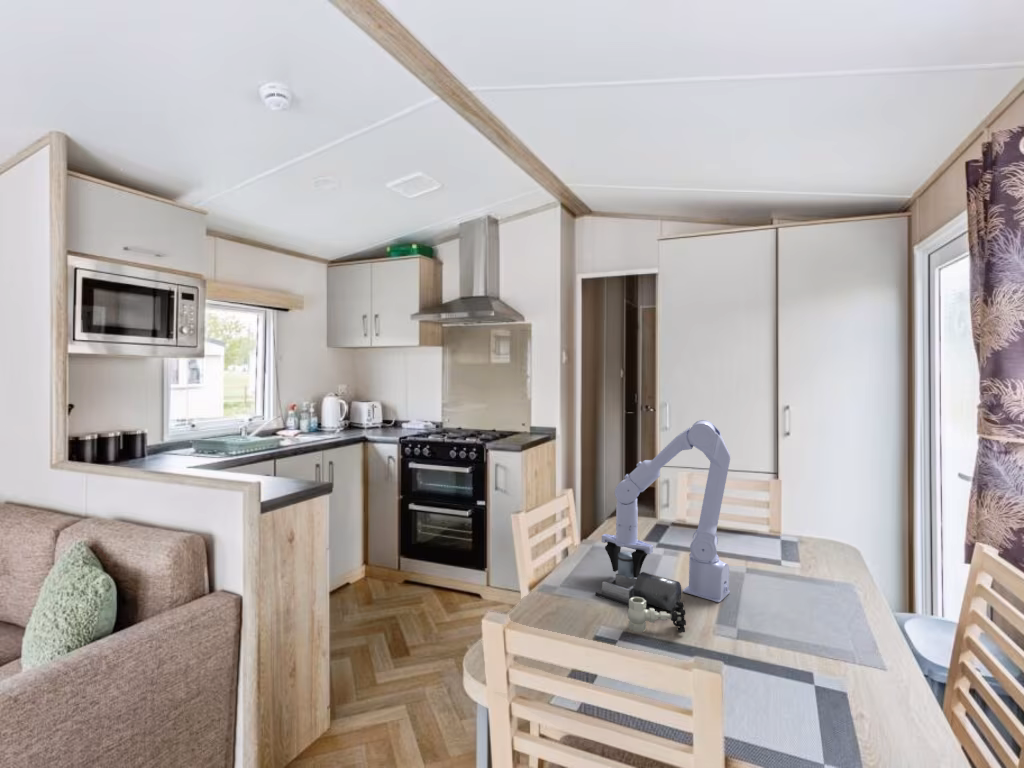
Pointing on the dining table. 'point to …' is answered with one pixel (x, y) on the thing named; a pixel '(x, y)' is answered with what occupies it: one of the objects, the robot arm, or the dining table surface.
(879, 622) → the dining table surface
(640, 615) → the valve
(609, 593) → the motor
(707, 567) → the robot arm
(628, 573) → the banded grey cylinder
